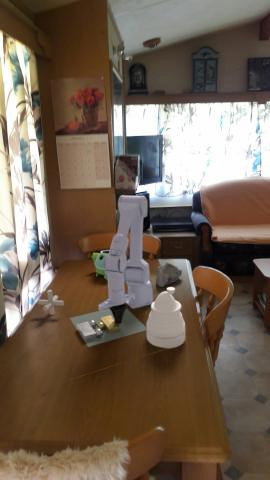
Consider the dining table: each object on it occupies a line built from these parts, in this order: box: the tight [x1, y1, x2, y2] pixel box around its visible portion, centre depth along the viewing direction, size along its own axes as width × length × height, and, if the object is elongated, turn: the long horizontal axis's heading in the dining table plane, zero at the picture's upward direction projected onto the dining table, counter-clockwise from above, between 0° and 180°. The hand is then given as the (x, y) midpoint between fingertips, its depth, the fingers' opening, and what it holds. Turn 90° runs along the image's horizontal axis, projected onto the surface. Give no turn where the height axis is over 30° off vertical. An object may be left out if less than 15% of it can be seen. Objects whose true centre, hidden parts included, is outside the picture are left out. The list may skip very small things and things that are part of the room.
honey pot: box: [145, 286, 186, 349], centre depth 117 cm, size 13×13×18 cm
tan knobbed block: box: [97, 315, 120, 334], centre depth 127 cm, size 9×6×2 cm
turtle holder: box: [91, 249, 110, 280], centre depth 177 cm, size 12×18×12 cm
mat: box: [69, 307, 147, 348], centre depth 130 cm, size 22×22×1 cm
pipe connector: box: [37, 289, 65, 316], centre depth 138 cm, size 10×10×10 cm
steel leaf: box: [76, 320, 103, 343], centre depth 124 cm, size 9×6×2 cm
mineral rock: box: [155, 262, 183, 288], centre depth 163 cm, size 13×11×10 cm
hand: (118, 322), depth 128 cm, fingers closed
